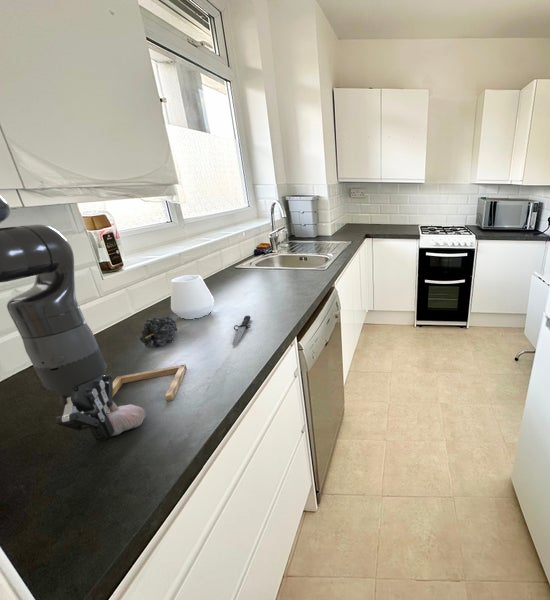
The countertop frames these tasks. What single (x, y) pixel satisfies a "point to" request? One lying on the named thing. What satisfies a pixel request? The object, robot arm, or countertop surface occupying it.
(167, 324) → the fruit
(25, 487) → the countertop surface
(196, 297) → the white tapered hollow cylinder
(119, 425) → the garlic bulb
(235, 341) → the knife
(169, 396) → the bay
